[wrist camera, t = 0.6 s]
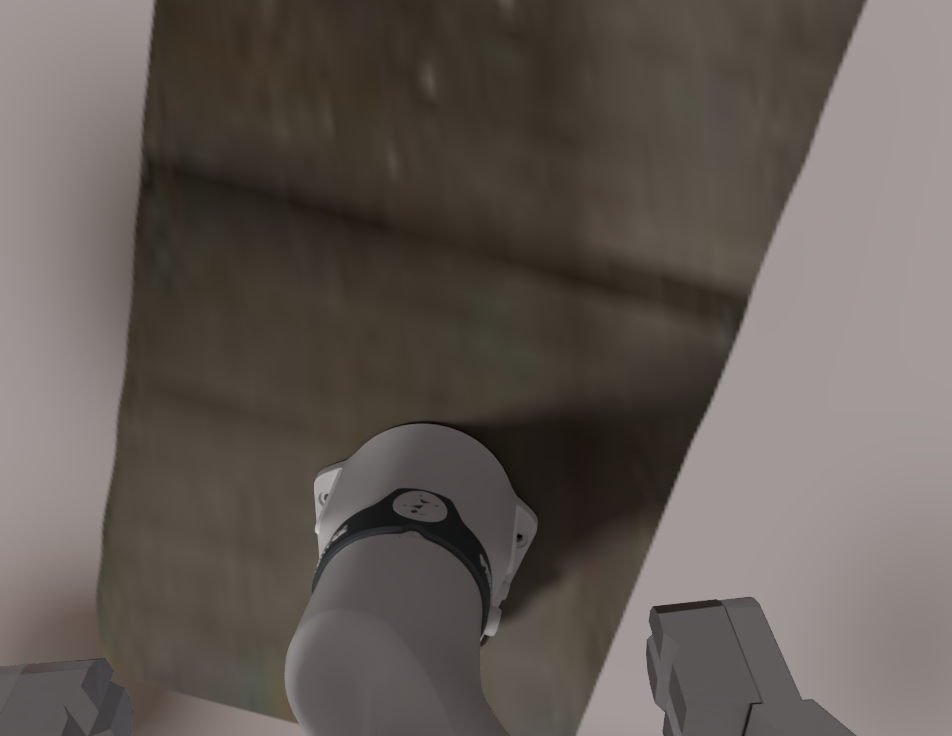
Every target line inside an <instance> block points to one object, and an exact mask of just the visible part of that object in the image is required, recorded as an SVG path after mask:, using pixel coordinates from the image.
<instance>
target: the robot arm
mask: <svg viewBox="0 0 952 736" xmlns="http://www.w3.org/2000/svg"><path fill="white" fill-rule="evenodd" d="M314 493H315V506H316V519H317V523H316V527H315V532H316V533H317V534H318V545H319V558H320V559H319V561H318V564H317V568H316V571H315V576H314V579H313V584H312V597H311V599H310V601H309V603H308V605H307V608H306V610H305V612H304V614H303V616H302V619H301V621H300V623H299V625H298V627H297V630H296V632H295V634H294V636H293V639H292V641H291V643H290V646H289V649H288V652H287V657H286V663H285V687H286V693H287V697H288V701H289V704H290V706H291V709H292V711H293V713H294V715H295V717H296V719H297V720H298V722H299V724H300V726H301V728H302V729H303V731H304V732H305V734H306V736H510V735H509V733H508V732H507V731H506V730H505V728H504V727H503V726H502V725H501V723H500V722H499V720H498V719H497V717H496V716H495V715H494V713H493V711H492V709H491V708H490V706H489V704H488V702H487V700H486V698H485V696H484V693H483V690H482V686H481V677H480V642H481V640H482V638H483V636H484V634H485V635H488V636H494V634H495V633H496V631H497V628H498V626H499V622H500V619H501V613H502V611H501V609H500V608H498V607H499V605H500V603H501V601H502V600H505V599H506V597H507V595H508V592H509V589H510V583H511V581H512V579H513V577H514V575H515V573H516V572H517V570H518V568H519V566H520V564H521V562H522V560H523V558H524V556H525V554H526V552H527V550H528V548H529V546H530V544H531V542H532V540H533V538H534V536H535V534H536V532H537V527H538V519H537V516H536V515H535V513H534V512H533V511H532V510H531V509H530V508H529V507H528V506H527V505H526V504H525V503H524V502H523V501H522V500H521V499H520V498H519V497H517V495H516V494H515V492H514V490H513V489H512V486H511V484H510V482H509V479H508V477H507V475H506V473H505V471H504V469H503V467H502V466H501V464H500V463H499V461H498V460H497V459H496V458H495V456H494V455H493V454H492V453H491V452H490V451H489V450H488V449H487V448H486V447H485V446H483V445H482V444H481V443H480V442H478V441H477V440H475V439H474V438H472V437H470V436H468V435H467V434H465V433H462V432H460V431H458V430H455V429H452V428H449V427H445V426H440V425H434V424H409V425H403V426H399V427H396V428H392V429H390V430H387V431H385V432H383V433H381V434H379V435H377V436H375V437H374V438H372V439H371V440H369V441H368V442H367V443H366V444H364V445H363V446H362V447H361V448H360V449H359V450H358V451H357V452H356V453H355V454H354V455H353V456H351V457H350V458H349V459H347V460H345V461H342V462H339V463H336V464H333V465H331V466H328V467H326V468H324V469H323V470H321V471H320V472H319V473H318V474H317V476H316V479H315V482H314ZM326 494H328V496H326ZM517 534H521V535H522V537H520V538H517ZM649 623H650V627H651V630H652V635H651V636H650V637H649V638H648V639H647V649H646V657H647V669H648V675H649V680H650V685H651V689H652V693H653V697H654V701H655V703H656V704H657V705H658V706H659V707H660V708H661V709H662V710H663V711H664V712H665V718H664V726H663V735H664V736H856V735H855V734H854V733H853V732H851V731H850V730H849V729H848V728H846V727H845V726H844V725H843V724H842V723H840V722H839V721H838V720H837V719H836V718H834V717H833V716H832V715H831V714H830V713H828V712H827V711H826V710H825V709H824V708H822V707H821V706H820V705H819V704H818V703H816V702H815V701H814V700H813V699H809V700H802V698H801V696H800V694H799V692H798V690H797V687H796V685H795V683H794V681H793V678H792V676H791V674H790V671H789V669H788V667H787V665H786V662H785V660H784V658H783V656H782V653H781V651H780V649H779V647H778V644H777V642H776V640H775V638H774V635H773V633H772V631H771V629H770V627H769V624H768V622H767V620H766V618H765V615H764V613H763V611H762V609H761V606H760V604H759V603H758V602H757V601H756V600H755V599H754V598H752V597H744V598H735V599H727V600H707V601H697V602H688V603H680V604H671V605H662V606H653V607H652V609H651V610H650V617H649ZM113 672H114V670H113V669H112V667H111V666H110V664H109V663H108V662H107V660H106V659H105V658H100V659H88V660H75V661H62V662H50V663H39V664H35V663H32V664H22V665H11V666H0V736H130V734H131V728H132V716H133V709H132V705H131V700H130V697H129V695H128V693H127V691H126V690H125V688H124V687H122V686H120V685H118V684H116V683H114V682H112V681H110V680H111V677H112V674H113Z"/></svg>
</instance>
